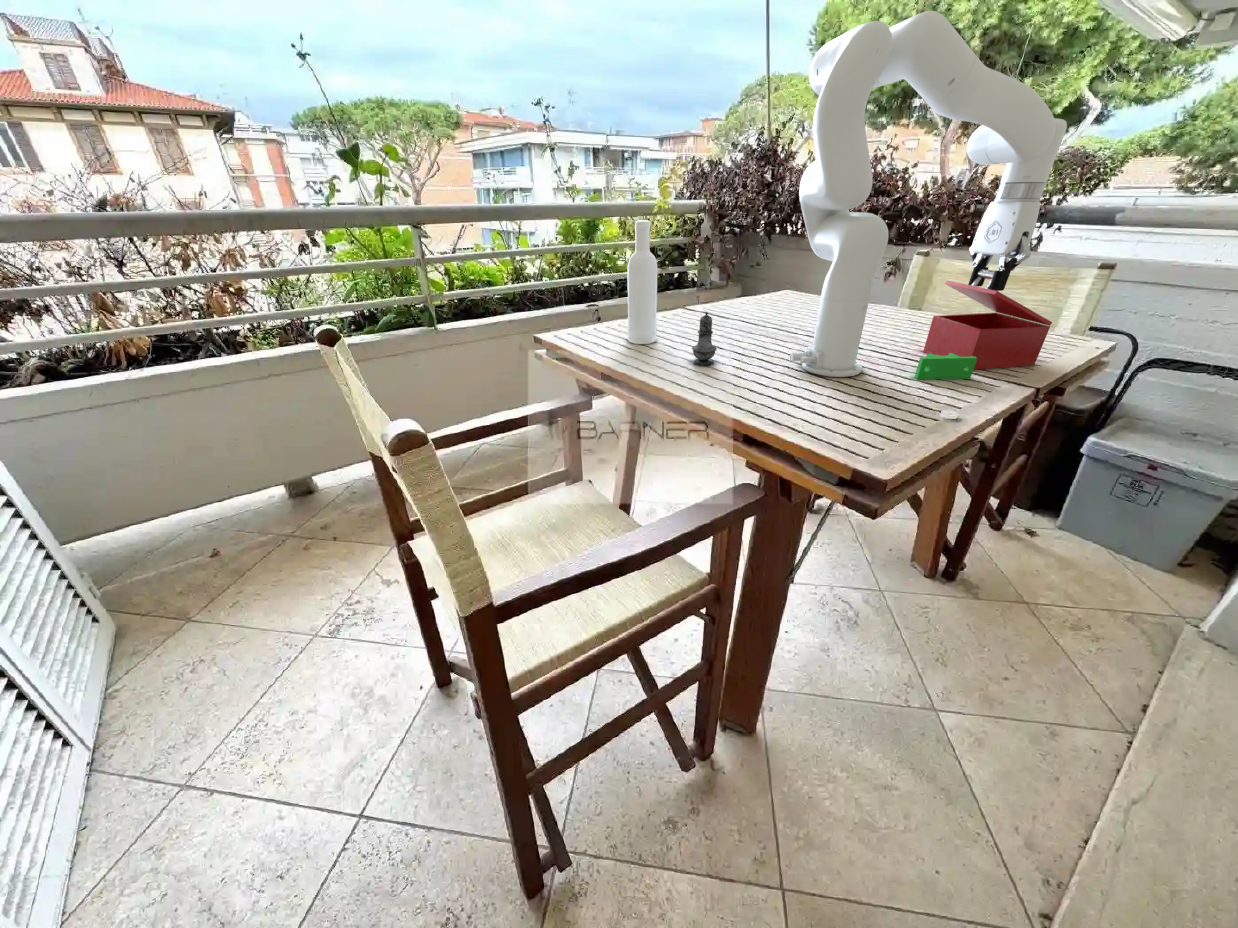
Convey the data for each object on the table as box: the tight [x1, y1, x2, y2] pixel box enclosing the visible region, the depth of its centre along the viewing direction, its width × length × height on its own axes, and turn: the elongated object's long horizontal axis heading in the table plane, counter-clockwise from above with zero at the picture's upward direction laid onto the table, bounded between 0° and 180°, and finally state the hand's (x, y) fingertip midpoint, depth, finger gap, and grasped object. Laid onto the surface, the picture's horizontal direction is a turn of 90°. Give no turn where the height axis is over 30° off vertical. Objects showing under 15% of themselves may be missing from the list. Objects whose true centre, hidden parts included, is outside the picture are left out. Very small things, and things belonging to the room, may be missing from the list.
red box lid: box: [944, 269, 1053, 327], centre depth 107 cm, size 18×15×5 cm
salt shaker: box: [691, 311, 718, 367], centre depth 113 cm, size 6×6×12 cm
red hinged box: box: [922, 312, 1051, 370], centre depth 112 cm, size 17×15×9 cm
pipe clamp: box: [914, 353, 977, 380], centre depth 103 cm, size 11×4×5 cm, turn 89°
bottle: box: [627, 219, 658, 345], centre depth 127 cm, size 8×8×30 cm
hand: (985, 287), depth 106 cm, fingers closed on red box lid, 5 cm apart
